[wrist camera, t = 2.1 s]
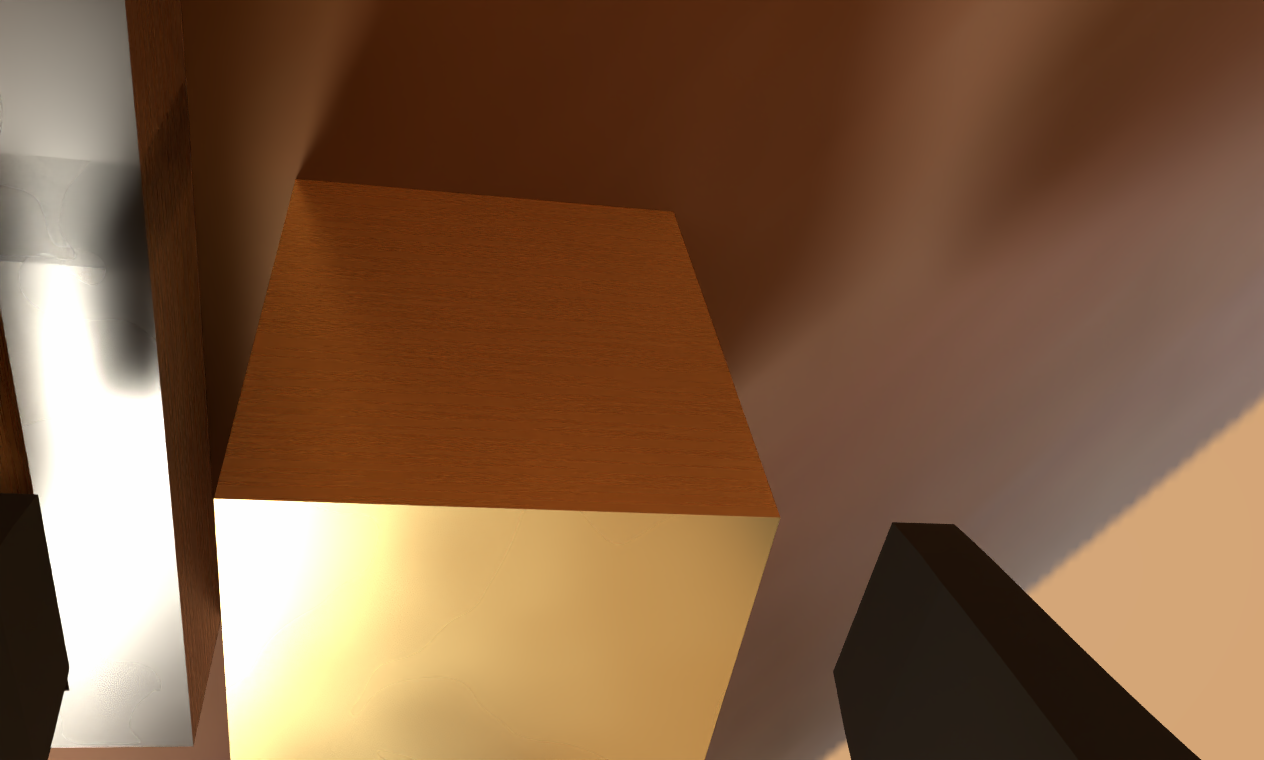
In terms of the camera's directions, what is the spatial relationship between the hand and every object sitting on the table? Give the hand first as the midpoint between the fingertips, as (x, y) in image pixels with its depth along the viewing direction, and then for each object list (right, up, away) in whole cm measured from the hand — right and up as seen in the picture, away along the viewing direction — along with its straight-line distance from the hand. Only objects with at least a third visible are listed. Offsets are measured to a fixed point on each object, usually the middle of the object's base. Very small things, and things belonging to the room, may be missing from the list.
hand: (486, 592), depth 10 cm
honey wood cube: (-1, +2, +3) cm, 4 cm away
